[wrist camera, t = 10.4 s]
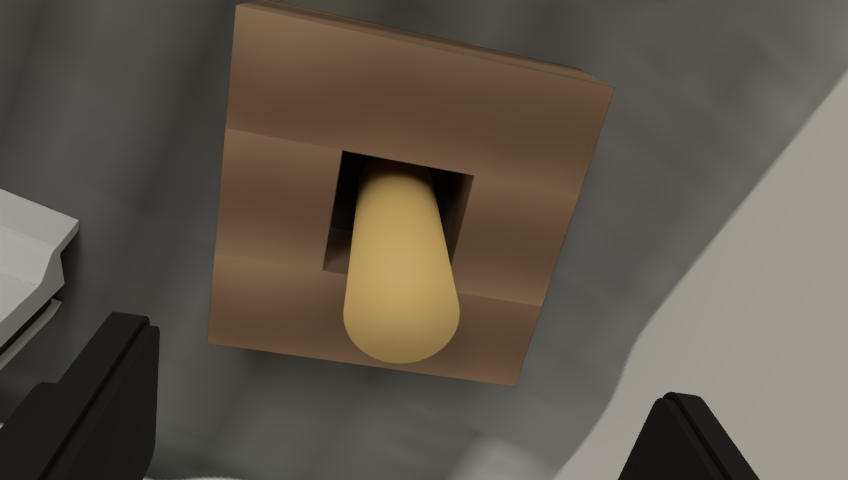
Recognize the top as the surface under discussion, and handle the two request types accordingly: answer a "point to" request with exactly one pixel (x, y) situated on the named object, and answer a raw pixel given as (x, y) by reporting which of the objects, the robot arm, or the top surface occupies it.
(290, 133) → the hole block
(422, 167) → the peg
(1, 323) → the white plastic device case
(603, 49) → the top surface
